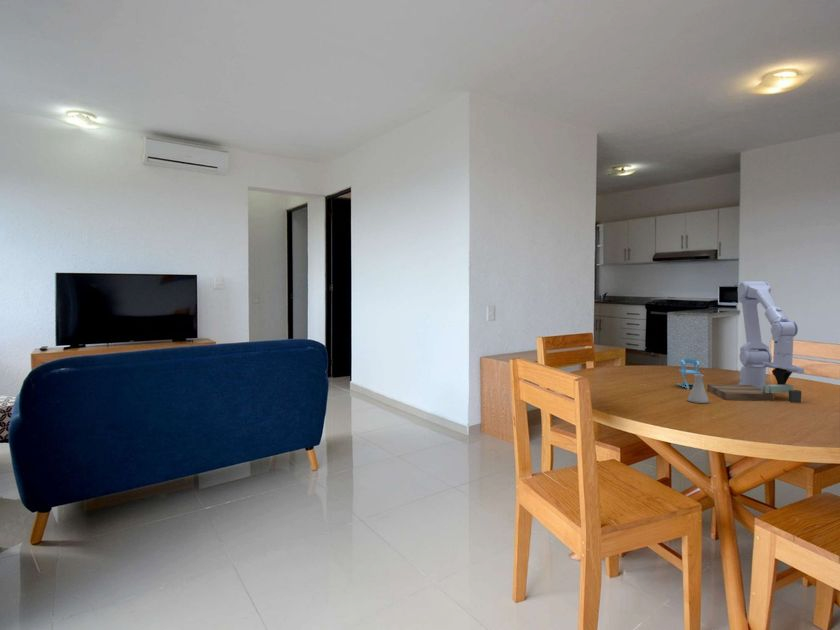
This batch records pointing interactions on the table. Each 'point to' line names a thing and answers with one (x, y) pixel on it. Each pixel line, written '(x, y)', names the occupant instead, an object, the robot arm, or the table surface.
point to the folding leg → (776, 388)
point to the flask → (698, 391)
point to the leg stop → (794, 396)
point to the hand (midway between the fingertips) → (781, 388)
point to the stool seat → (740, 392)
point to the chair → (684, 371)
